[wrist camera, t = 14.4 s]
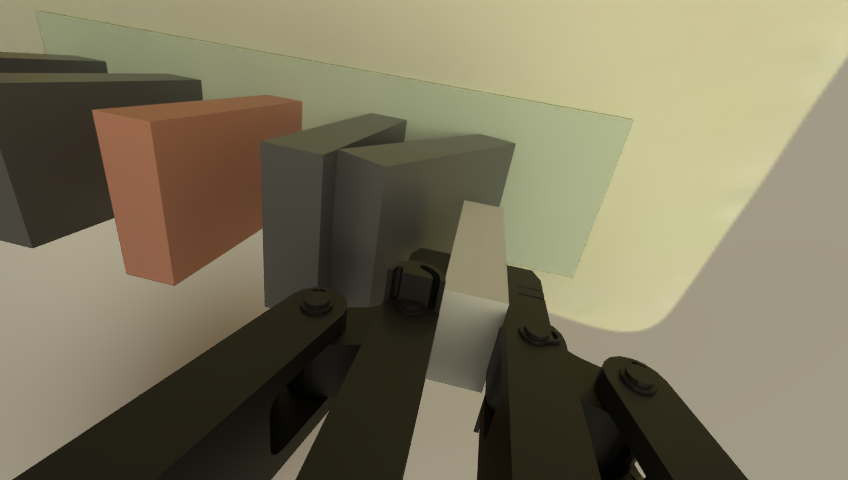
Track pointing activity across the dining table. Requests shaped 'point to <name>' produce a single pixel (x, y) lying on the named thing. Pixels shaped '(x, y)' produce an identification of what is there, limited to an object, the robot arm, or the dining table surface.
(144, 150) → the orange domino
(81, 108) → the domino
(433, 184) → the domino
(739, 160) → the dining table surface
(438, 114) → the mat
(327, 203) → the domino
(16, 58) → the domino
